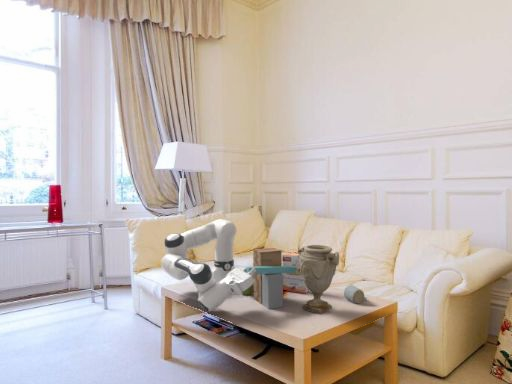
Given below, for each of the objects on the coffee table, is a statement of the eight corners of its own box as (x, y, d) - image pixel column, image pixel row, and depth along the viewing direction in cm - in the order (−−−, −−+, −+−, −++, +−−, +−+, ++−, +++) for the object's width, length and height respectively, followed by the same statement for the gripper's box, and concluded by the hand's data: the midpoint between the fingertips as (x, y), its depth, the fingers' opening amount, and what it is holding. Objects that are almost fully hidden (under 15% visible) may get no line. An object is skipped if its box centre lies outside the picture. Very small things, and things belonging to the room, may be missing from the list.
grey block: (262, 304, 183) (261, 272, 183) (276, 302, 187) (276, 271, 186) (268, 308, 177) (268, 275, 177) (283, 306, 180) (282, 274, 180)
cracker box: (282, 291, 207) (281, 254, 207) (286, 288, 212) (285, 252, 212) (305, 294, 200) (305, 255, 200) (309, 291, 206) (309, 254, 205)
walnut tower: (253, 299, 193) (253, 249, 192) (274, 295, 198) (273, 247, 197) (261, 303, 185) (260, 252, 184) (282, 300, 190) (281, 250, 189)
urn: (350, 310, 173) (350, 247, 173) (327, 320, 161) (326, 252, 160) (310, 299, 191) (309, 242, 190) (286, 307, 178) (285, 246, 178)
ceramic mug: (353, 305, 181) (353, 289, 181) (343, 300, 189) (343, 285, 189) (370, 302, 185) (370, 287, 185) (359, 298, 193) (360, 283, 193)
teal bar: (246, 272, 177) (246, 266, 177) (293, 271, 188) (293, 265, 188) (248, 274, 175) (248, 267, 175) (296, 272, 185) (296, 267, 185)
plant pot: (262, 293, 203) (262, 272, 203) (247, 298, 195) (247, 277, 194) (247, 289, 211) (247, 269, 211) (232, 293, 203) (232, 273, 202)
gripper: (225, 285, 183) (247, 269, 187) (241, 296, 164) (265, 278, 169) (219, 275, 181) (241, 259, 186) (234, 285, 162) (258, 267, 167)
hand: (253, 268), depth 177 cm, fingers closed on teal bar, 3 cm apart
